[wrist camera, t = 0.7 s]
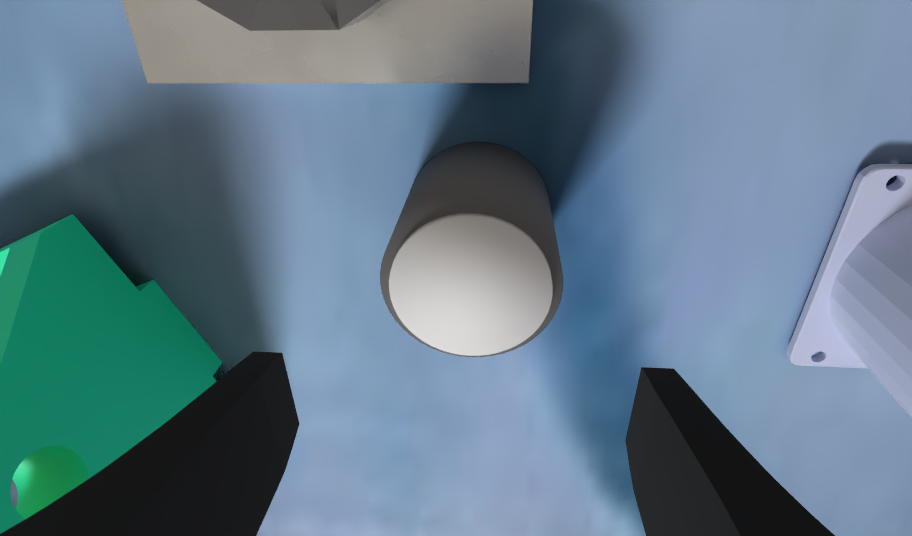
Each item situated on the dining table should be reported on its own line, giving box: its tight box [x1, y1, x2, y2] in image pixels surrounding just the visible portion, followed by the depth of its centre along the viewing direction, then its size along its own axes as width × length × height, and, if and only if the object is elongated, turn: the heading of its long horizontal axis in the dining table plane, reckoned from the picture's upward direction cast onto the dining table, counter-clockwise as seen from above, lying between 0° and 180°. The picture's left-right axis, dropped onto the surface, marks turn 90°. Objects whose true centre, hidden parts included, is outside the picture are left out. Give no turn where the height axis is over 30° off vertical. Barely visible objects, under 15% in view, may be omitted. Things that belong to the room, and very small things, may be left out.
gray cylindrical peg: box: [380, 142, 563, 357], centre depth 16 cm, size 5×5×5 cm
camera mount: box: [0, 214, 222, 534], centre depth 19 cm, size 12×8×10 cm, turn 24°
